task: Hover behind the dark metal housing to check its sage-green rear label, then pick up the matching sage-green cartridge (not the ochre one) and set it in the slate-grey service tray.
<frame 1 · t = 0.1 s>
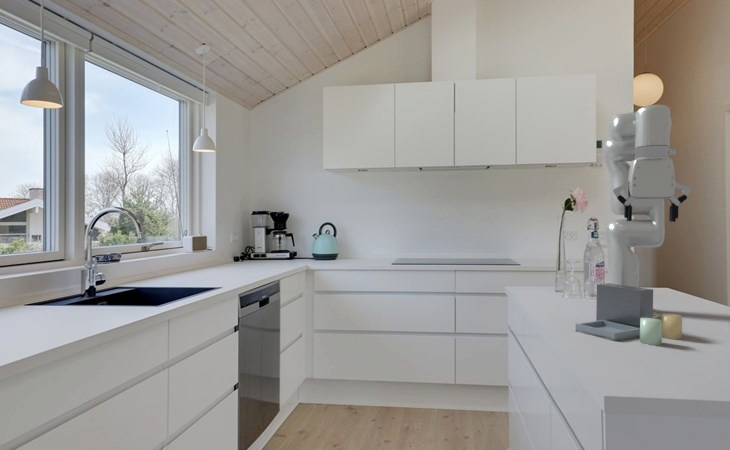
hand: (650, 221, 118), 31 cm above the worktop, fingers open, 9 cm apart
housing: (623, 328, 133), on the worktop
ochre cartridge: (671, 337, 123), on the worktop
tray: (607, 333, 127), on the worktop
sage cartridge: (650, 343, 117), on the worktop
rock: (649, 325, 139), on the worktop
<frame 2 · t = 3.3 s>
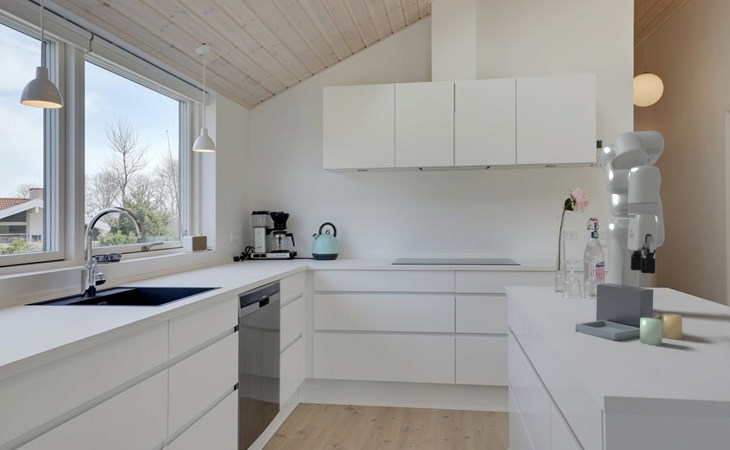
hand: (642, 271, 128), 17 cm above the worktop, fingers open, 9 cm apart
nothing on the worktop moved.
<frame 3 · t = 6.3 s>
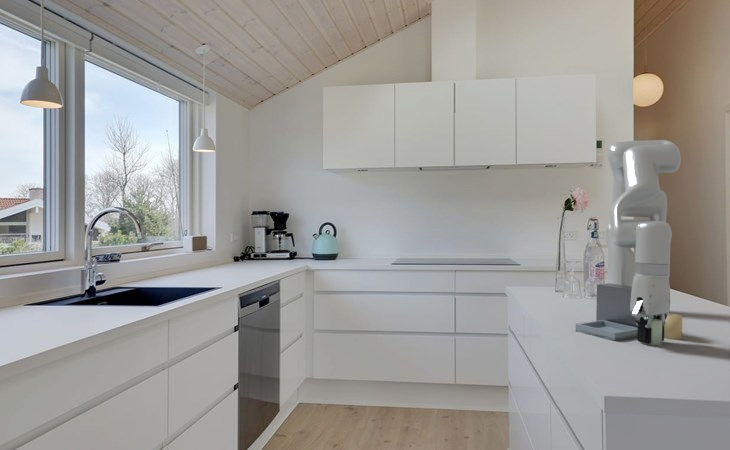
hand: (650, 340, 117), 1 cm above the worktop, fingers closed on sage cartridge, 4 cm apart
sage cartridge: (650, 342, 117), on the worktop, touching gripper
everything else where it was.
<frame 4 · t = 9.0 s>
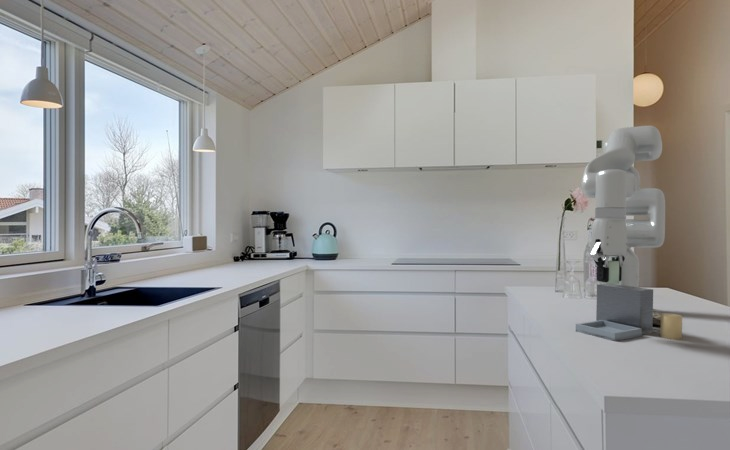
hand: (608, 280, 126), 15 cm above the worktop, fingers closed on sage cartridge, 4 cm apart
sage cartridge: (608, 282, 126), point 14 cm above the worktop, touching gripper
everything else where it was.
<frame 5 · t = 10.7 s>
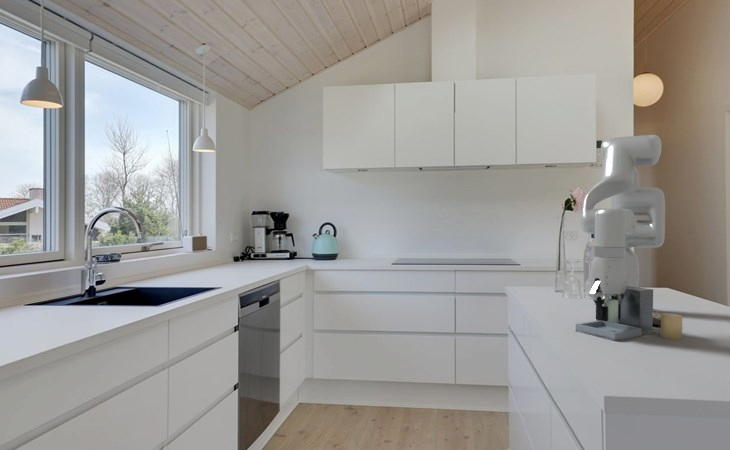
hand: (608, 318, 126), 4 cm above the worktop, fingers closed on sage cartridge, 4 cm apart
sage cartridge: (608, 321, 126), point 3 cm above the worktop, touching gripper
everything else where it was.
when the fingers open (3 cm above the worktop, at t = 11.8 s): sage cartridge drops 1 cm, resting on tray.
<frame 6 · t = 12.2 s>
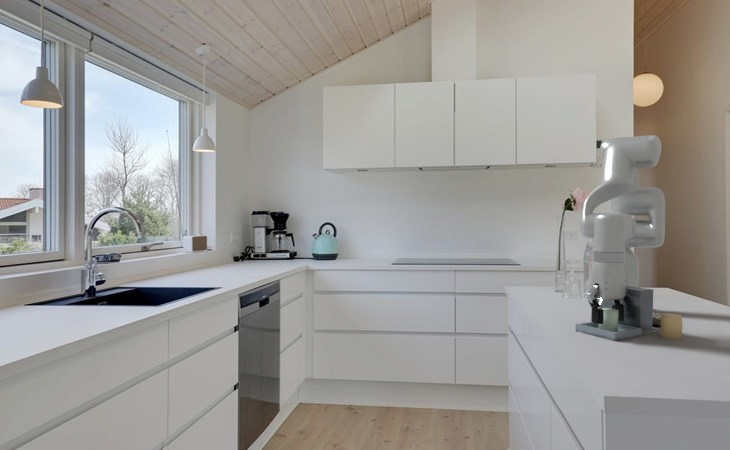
hand: (607, 321, 126), 3 cm above the worktop, fingers open, 8 cm apart
sage cartridge: (608, 331, 127), point 1 cm above the worktop, touching tray
everything else where it was.
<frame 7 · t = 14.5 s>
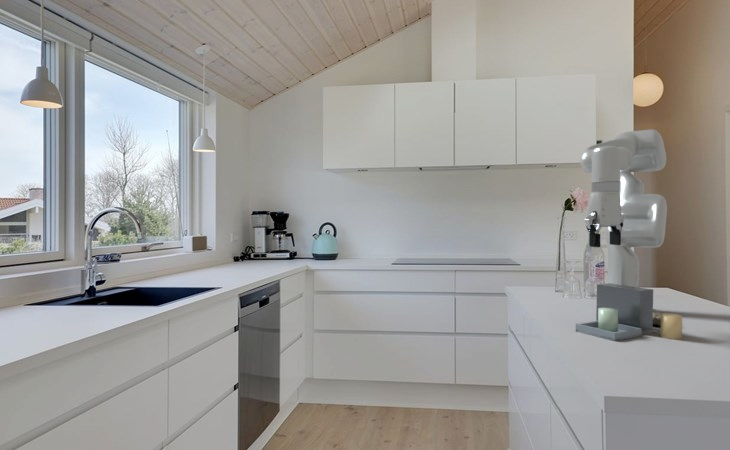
hand: (605, 245, 137), 24 cm above the worktop, fingers open, 9 cm apart
nothing on the worktop moved.
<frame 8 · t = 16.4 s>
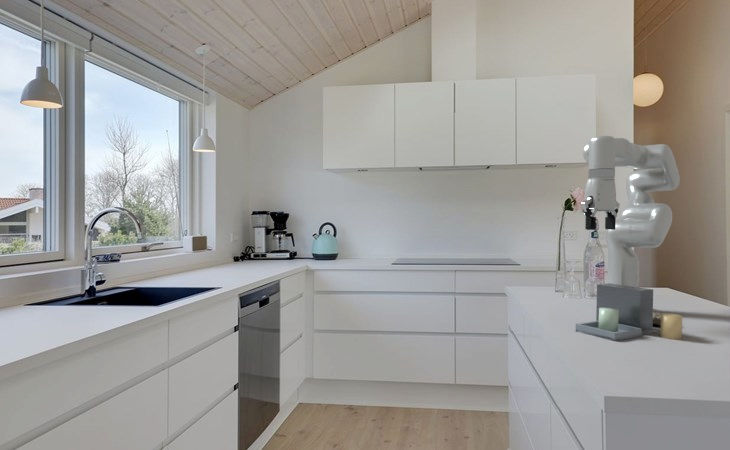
hand: (600, 229, 146), 28 cm above the worktop, fingers open, 9 cm apart
nothing on the worktop moved.
at the end: sage cartridge inside the target area on the tray (0.0 cm from its centre), point 0.7 cm above the tray's base; sage cartridge tilted 2°; ochre cartridge moved 0.1 cm from its start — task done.
